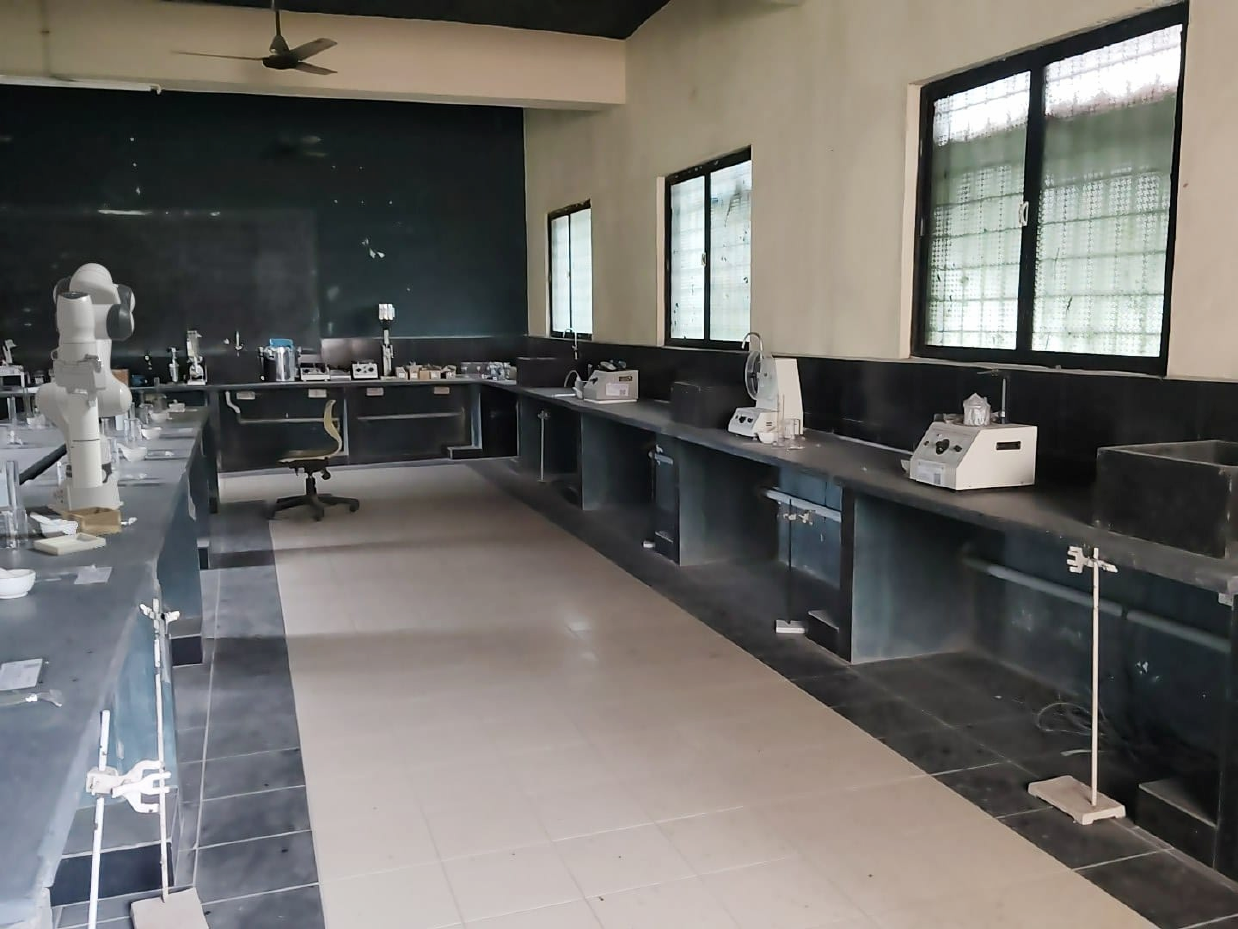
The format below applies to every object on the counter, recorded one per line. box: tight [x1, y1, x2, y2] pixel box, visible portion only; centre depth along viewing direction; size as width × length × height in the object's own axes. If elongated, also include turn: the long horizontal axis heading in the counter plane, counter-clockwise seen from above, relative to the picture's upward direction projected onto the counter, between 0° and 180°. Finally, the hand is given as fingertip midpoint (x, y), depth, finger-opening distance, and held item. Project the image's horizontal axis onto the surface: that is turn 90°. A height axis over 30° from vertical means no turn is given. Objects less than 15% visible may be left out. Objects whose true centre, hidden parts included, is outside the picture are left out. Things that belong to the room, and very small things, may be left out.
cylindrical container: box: [67, 392, 103, 488], centre depth 273 cm, size 7×7×25 cm
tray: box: [33, 533, 107, 556], centre depth 260 cm, size 12×12×2 cm
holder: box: [60, 506, 123, 537], centre depth 276 cm, size 11×11×6 cm
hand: (82, 405), depth 271 cm, fingers closed on cylindrical container, 7 cm apart
